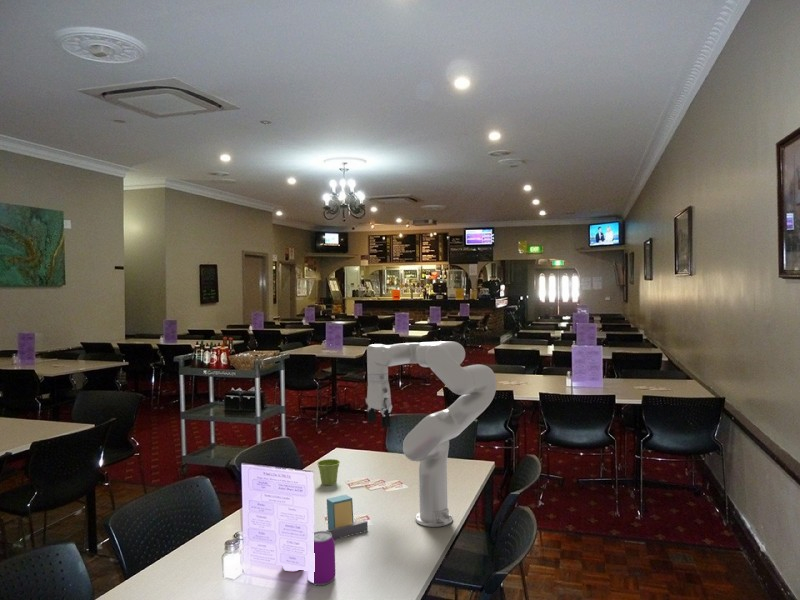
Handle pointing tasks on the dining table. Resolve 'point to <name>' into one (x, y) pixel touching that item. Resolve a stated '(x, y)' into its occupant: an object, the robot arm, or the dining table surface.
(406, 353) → the robot arm
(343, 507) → the tea box
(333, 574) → the beverage can
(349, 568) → the dining table surface
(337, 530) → the rail
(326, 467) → the plant pot
